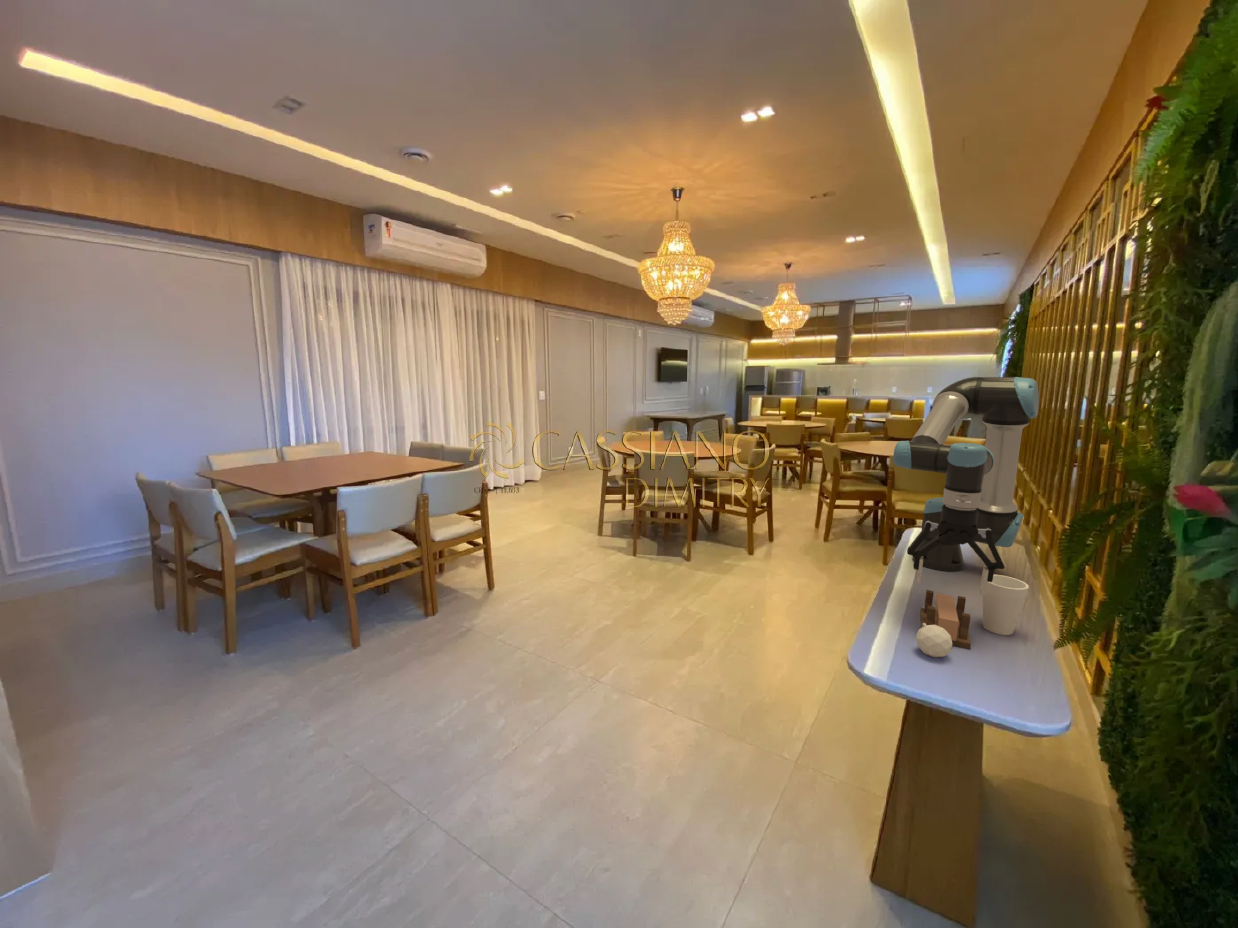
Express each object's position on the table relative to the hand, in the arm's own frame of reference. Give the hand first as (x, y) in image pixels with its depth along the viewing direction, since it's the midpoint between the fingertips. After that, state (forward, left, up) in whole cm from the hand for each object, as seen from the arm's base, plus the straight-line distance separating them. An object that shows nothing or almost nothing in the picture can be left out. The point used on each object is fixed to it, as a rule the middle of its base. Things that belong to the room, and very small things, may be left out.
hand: (949, 587), depth 127 cm
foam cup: (-7, +12, -12) cm, 18 cm away
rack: (0, 0, -12) cm, 12 cm away
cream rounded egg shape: (+15, -3, -12) cm, 20 cm away
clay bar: (+1, 0, -10) cm, 10 cm away
